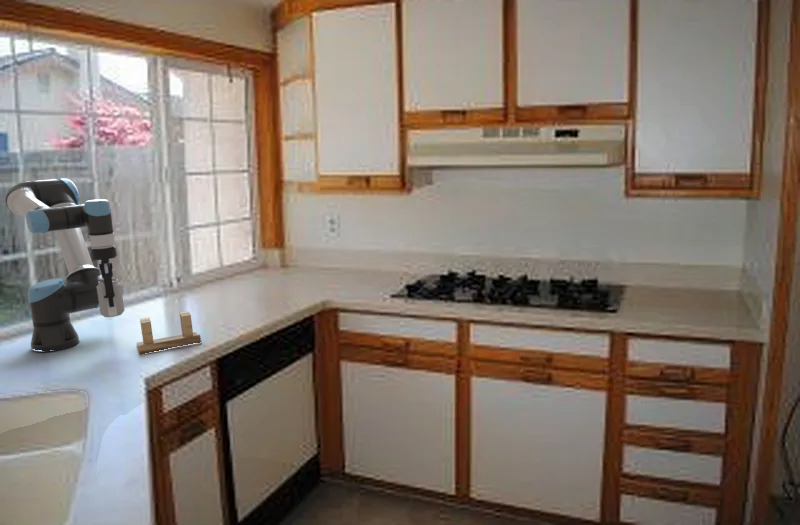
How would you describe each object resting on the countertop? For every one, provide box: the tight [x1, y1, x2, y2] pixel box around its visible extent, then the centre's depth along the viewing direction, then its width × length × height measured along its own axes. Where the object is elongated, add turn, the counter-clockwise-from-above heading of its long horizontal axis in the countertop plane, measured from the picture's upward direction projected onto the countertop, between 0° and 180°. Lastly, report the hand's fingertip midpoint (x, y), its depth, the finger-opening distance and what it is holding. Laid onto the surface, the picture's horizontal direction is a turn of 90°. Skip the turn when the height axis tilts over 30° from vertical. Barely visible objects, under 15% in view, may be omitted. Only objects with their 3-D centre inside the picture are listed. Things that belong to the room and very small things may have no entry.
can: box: [97, 278, 125, 318], centre depth 217 cm, size 8×8×12 cm
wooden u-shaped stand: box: [136, 310, 202, 356], centre depth 222 cm, size 12×20×10 cm, turn 115°
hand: (112, 312), depth 218 cm, fingers closed on can, 7 cm apart
